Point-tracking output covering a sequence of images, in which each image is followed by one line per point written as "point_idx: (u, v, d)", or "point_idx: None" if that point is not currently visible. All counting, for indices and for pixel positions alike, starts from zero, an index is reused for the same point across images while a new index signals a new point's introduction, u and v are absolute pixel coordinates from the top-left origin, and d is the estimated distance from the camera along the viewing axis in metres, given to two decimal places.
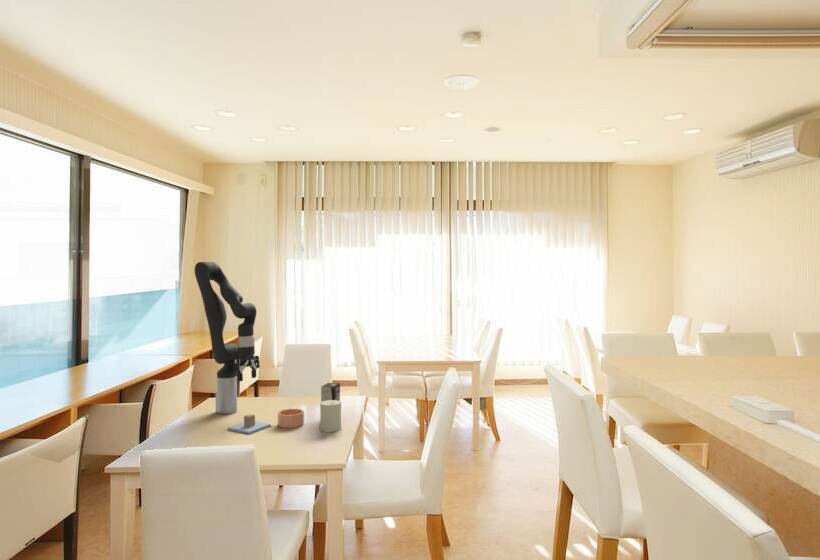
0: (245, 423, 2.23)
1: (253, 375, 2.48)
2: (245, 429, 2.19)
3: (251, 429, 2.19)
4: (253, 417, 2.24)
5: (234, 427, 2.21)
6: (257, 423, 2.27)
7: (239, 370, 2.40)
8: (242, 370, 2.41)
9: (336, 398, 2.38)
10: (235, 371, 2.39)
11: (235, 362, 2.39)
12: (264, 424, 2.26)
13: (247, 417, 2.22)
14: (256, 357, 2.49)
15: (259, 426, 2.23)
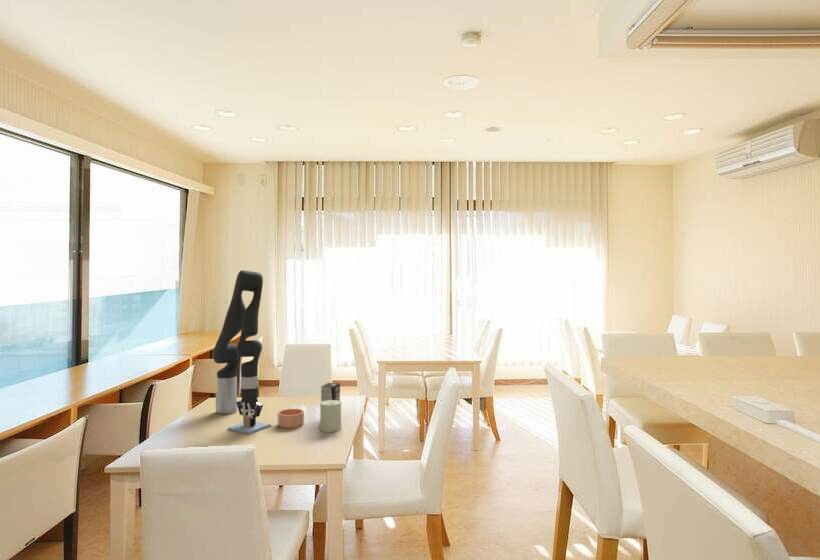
0: (245, 423, 2.23)
1: None
2: (245, 429, 2.19)
3: (251, 429, 2.19)
4: None
5: (234, 427, 2.21)
6: (257, 423, 2.27)
7: None
8: None
9: (336, 398, 2.38)
10: (257, 415, 2.22)
11: (260, 408, 2.21)
12: (264, 424, 2.26)
13: (247, 417, 2.22)
14: None
15: (259, 426, 2.23)
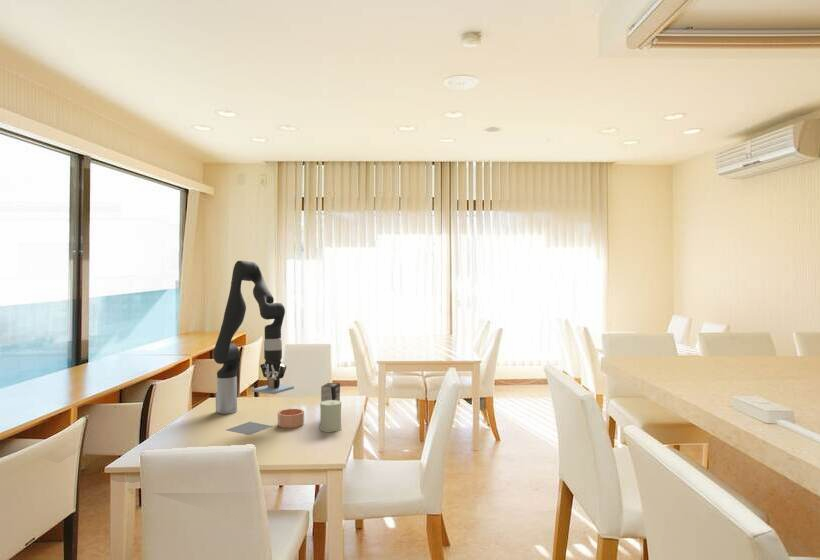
0: (269, 385, 2.25)
1: None
2: (269, 390, 2.21)
3: (275, 390, 2.21)
4: None
5: (258, 389, 2.24)
6: (280, 386, 2.29)
7: None
8: None
9: (336, 398, 2.38)
10: (281, 377, 2.24)
11: (283, 369, 2.23)
12: (287, 386, 2.28)
13: (271, 379, 2.25)
14: None
15: (283, 388, 2.25)
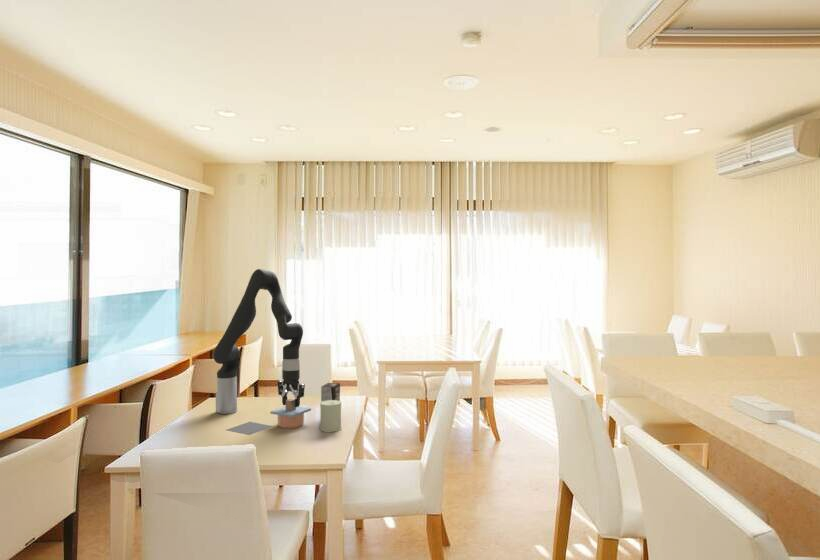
0: (287, 407, 2.28)
1: (285, 402, 2.31)
2: (287, 413, 2.24)
3: (293, 413, 2.24)
4: (294, 401, 2.29)
5: (276, 411, 2.27)
6: (298, 407, 2.33)
7: None
8: None
9: (336, 398, 2.38)
10: (301, 396, 2.26)
11: (302, 387, 2.26)
12: (305, 408, 2.31)
13: (289, 401, 2.28)
14: None
15: (300, 410, 2.28)
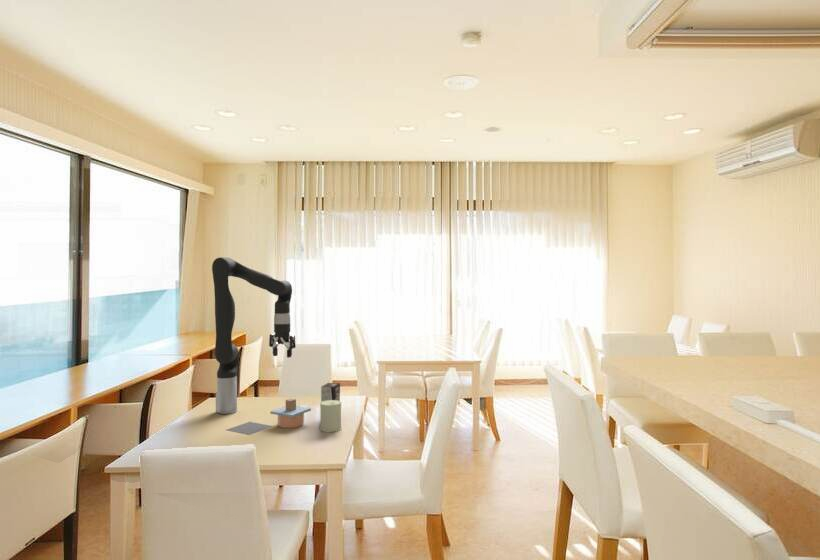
0: (287, 407, 2.28)
1: (276, 353, 2.47)
2: (287, 413, 2.24)
3: (293, 413, 2.24)
4: (294, 401, 2.29)
5: (276, 411, 2.27)
6: (298, 407, 2.33)
7: None
8: None
9: (336, 398, 2.38)
10: (293, 347, 2.41)
11: (293, 338, 2.41)
12: (305, 408, 2.31)
13: (289, 401, 2.28)
14: None
15: (300, 410, 2.28)
